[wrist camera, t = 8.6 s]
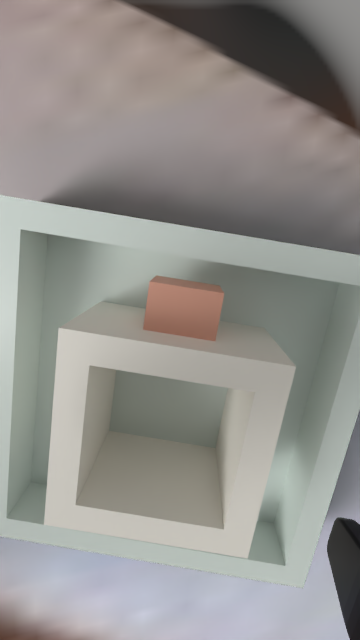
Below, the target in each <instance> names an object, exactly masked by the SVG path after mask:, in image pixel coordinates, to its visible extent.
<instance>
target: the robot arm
mask: <svg viewBox="0 0 360 640" xmlns="http://www.w3.org/2000/svg"><path fill="white" fill-rule="evenodd" d="M327 552H328V557H329V561H330V565H331V569H332V573H333V577H334V582H335V586H336V590H337V594H338V598H339V602H340V606H341V610H342V614H343V618H344V622H345V625H346V629H347V632H348V635H349V638H350V640H360V525H359V524H358V523H357V522H356V521H354V520H352V519H346V518H337V519H336V520H335V522H334V525H333V528H332V531H331V534H330V537H329V540H328V544H327Z"/></svg>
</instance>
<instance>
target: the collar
mask: <svg viewBox="0 0 360 640" xmlns="http://www.w3.org/2000/svg"><path fill="white" fill-rule="evenodd" d="M223 298H224V292H223V290H222V289H221V287H220V286H219V285H213V284H207V283H200V282H194V281H188V280H182V279H176V278H170V277H163V276H157V275H156V276H155V277H154V278H153V279H152V280H151V281H150V282H149V289H148V296H147V304H146V309H145V308H139V307H132V306H126V305H120V304H114V303H108V302H102V301H101V302H99V303H97V304H96V305H94V306H93V307H91V308H89V309H88V310H86V311H85V312H83V313H81V314H80V315H78V316H77V317H75V318H74V319H72V320H70V321H69V322H67V323H66V324H64V325H62V326H61V327H59V330H58V343H57V357H56V370H55V383H54V397H53V410H52V423H51V437H50V450H49V463H48V477H47V490H46V504H45V517H44V525H48V526H54V527H60V528H66V529H73V530H79V531H85V532H91V533H97V534H103V535H109V536H115V537H121V538H127V539H133V540H139V541H145V542H151V543H157V544H163V545H169V546H175V547H181V548H187V549H193V550H199V551H205V552H211V553H217V554H223V555H229V556H235V557H241V558H247V559H248V555H249V551H250V547H251V543H252V539H253V535H254V531H255V527H256V523H257V519H258V515H259V511H260V507H261V504H262V500H263V496H264V492H265V488H266V484H267V480H268V476H269V472H270V468H271V464H272V460H273V456H274V452H275V448H276V444H277V440H278V436H279V433H280V429H281V425H282V421H283V417H284V413H285V409H286V405H287V401H288V397H289V393H290V389H291V385H292V381H293V377H294V373H295V369H296V366H295V365H294V363H293V362H292V361H291V360H290V358H289V357H288V356H287V355H286V354H285V352H284V351H283V350H282V349H281V348H280V346H279V345H278V344H277V343H276V341H275V340H274V339H273V338H272V337H271V335H270V334H269V333H268V332H267V331H266V329H265V328H262V327H255V326H249V325H243V324H237V323H231V322H225V321H219V319H220V314H221V309H222V304H223ZM116 370H121V371H127V372H133V373H140V374H146V375H152V376H158V377H164V378H170V379H176V380H182V381H188V382H195V383H201V384H207V385H213V386H219V387H225V388H228V390H227V394H226V399H225V404H224V409H223V414H222V419H221V424H220V428H219V433H218V438H217V443H216V448H211V447H205V446H199V445H193V444H187V443H181V442H175V441H169V440H163V439H157V438H150V437H144V436H138V435H132V434H126V433H120V432H114V431H109V427H110V419H111V410H112V402H113V394H114V385H115V377H116Z"/></svg>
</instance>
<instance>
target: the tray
mask: <svg viewBox="0 0 360 640" xmlns="http://www.w3.org/2000/svg"><path fill="white" fill-rule="evenodd" d="M156 275H157V276H163V277H170V278H176V279H182V280H188V281H194V282H200V283H207V284H213V285H219V286H220V287H221V289H222V290H223V292H224V298H223V304H222V309H221V314H220V319H219V321H225V322H231V323H237V324H243V325H249V326H255V327H262V328H265V329H266V331H267V332H268V333H269V334H270V335H271V337H272V338H273V339H274V340H275V341H276V343H277V344H278V345H279V346H280V348H281V349H282V350H283V351H284V352H285V354H286V355H287V356H288V357H289V358H290V360H291V361H292V362H293V363H294V365H295V366H296V369H295V373H294V377H293V381H292V385H291V389H290V393H289V397H288V401H287V405H286V409H285V413H284V417H283V421H282V425H281V429H280V433H279V436H278V440H277V444H276V448H275V452H274V456H273V460H272V464H271V468H270V472H269V476H268V480H267V484H266V488H265V492H264V496H263V500H262V504H261V507H260V511H259V515H258V519H257V523H256V527H255V531H254V535H253V539H252V543H251V547H250V551H249V555H248V559H247V558H241V557H235V556H229V555H223V554H217V553H211V552H205V551H199V550H193V549H187V548H181V547H175V546H169V545H163V544H157V543H151V542H145V541H139V540H133V539H127V538H121V537H115V536H109V535H103V534H97V533H91V532H85V531H79V530H73V529H66V528H60V527H54V526H48V525H44V517H45V504H46V490H47V477H48V463H49V450H50V437H51V423H52V410H53V397H54V383H55V370H56V357H57V343H58V330H59V327H61V326H62V325H64V324H66V323H67V322H69V321H70V320H72V319H74V318H75V317H77V316H78V315H80V314H81V313H83V312H85V311H86V310H88V309H89V308H91V307H93V306H94V305H96V304H97V303H99V302H101V301H102V302H108V303H114V304H120V305H126V306H132V307H139V308H145V309H146V304H147V296H148V289H149V282H150V281H151V280H152V279H153V278H154V277H155V276H156ZM227 390H228V388H225V387H219V386H213V385H207V384H201V383H195V382H188V381H182V380H176V379H170V378H164V377H158V376H152V375H146V374H140V373H133V372H127V371H121V370H116V377H115V385H114V394H113V402H112V410H111V419H110V427H109V431H114V432H120V433H126V434H132V435H138V436H144V437H150V438H157V439H163V440H169V441H175V442H181V443H187V444H193V445H199V446H205V447H211V448H216V443H217V438H218V433H219V428H220V424H221V419H222V414H223V409H224V404H225V399H226V394H227ZM359 410H360V255H356V254H350V253H344V252H338V251H332V250H326V249H320V248H314V247H308V246H302V245H296V244H290V243H284V242H279V241H273V240H267V239H261V238H255V237H249V236H243V235H237V234H231V233H225V232H219V231H213V230H207V229H201V228H195V227H189V226H183V225H177V224H171V223H165V222H159V221H153V220H147V219H141V218H135V217H129V216H123V215H117V214H111V213H105V212H99V211H93V210H87V209H81V208H75V207H69V206H63V205H57V204H51V203H45V202H39V201H33V200H27V199H21V198H15V197H9V196H3V195H0V537H5V538H11V539H17V540H23V541H29V542H35V543H41V544H46V545H52V546H58V547H64V548H70V549H76V550H82V551H87V552H93V553H99V554H105V555H111V556H117V557H123V558H128V559H134V560H140V561H146V562H152V563H158V564H164V565H169V566H175V567H181V568H187V569H193V570H199V571H205V572H210V573H216V574H222V575H228V576H234V577H240V578H246V579H251V580H257V581H263V582H269V583H275V584H281V585H287V586H292V587H298V588H303V587H304V584H305V581H306V578H307V574H308V571H309V568H310V565H311V562H312V559H313V555H314V552H315V549H316V546H317V543H318V540H319V536H320V533H321V530H322V527H323V524H324V521H325V518H326V514H327V511H328V508H329V505H330V502H331V499H332V495H333V492H334V489H335V486H336V483H337V480H338V476H339V473H340V470H341V467H342V464H343V461H344V458H345V454H346V451H347V448H348V445H349V442H350V439H351V435H352V432H353V429H354V426H355V423H356V420H357V416H358V413H359Z"/></svg>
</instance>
